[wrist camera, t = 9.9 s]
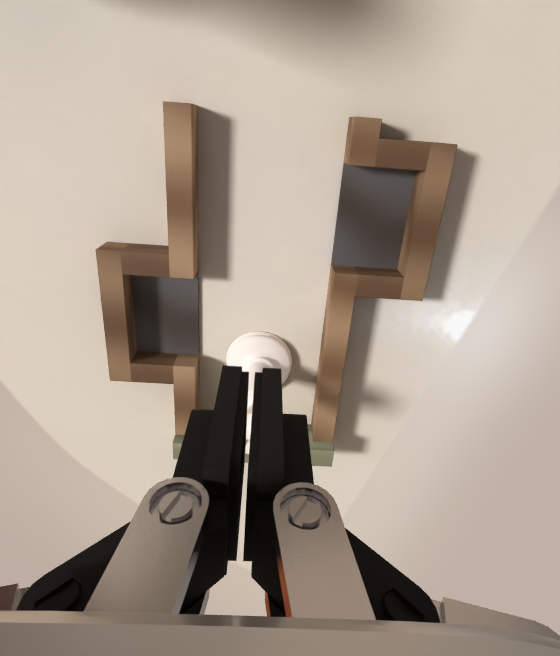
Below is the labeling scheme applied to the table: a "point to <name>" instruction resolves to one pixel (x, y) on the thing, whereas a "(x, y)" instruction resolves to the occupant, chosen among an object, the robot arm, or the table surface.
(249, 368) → the chess piece
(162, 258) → the trap lane
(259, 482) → the robot arm
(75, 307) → the table surface
